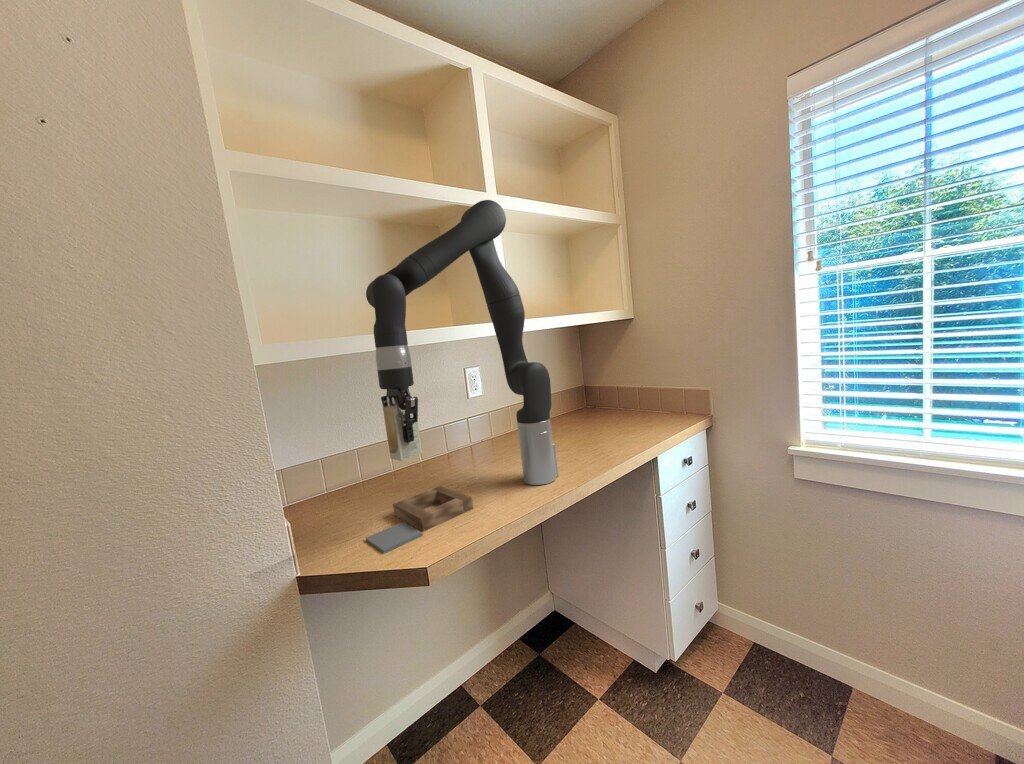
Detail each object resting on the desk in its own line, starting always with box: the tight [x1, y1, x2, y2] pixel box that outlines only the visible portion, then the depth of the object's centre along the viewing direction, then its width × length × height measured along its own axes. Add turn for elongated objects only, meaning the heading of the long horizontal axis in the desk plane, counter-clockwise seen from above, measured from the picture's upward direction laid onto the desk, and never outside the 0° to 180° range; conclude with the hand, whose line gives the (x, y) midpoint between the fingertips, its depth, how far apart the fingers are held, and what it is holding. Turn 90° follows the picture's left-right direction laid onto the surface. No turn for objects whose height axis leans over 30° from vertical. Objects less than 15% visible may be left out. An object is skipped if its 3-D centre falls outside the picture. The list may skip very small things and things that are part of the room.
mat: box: [365, 521, 424, 554], centre depth 88 cm, size 9×9×1 cm
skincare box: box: [382, 405, 423, 461], centre depth 92 cm, size 6×4×12 cm
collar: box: [392, 485, 474, 532], centre depth 99 cm, size 14×14×3 cm
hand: (403, 439), depth 92 cm, fingers closed on skincare box, 4 cm apart
